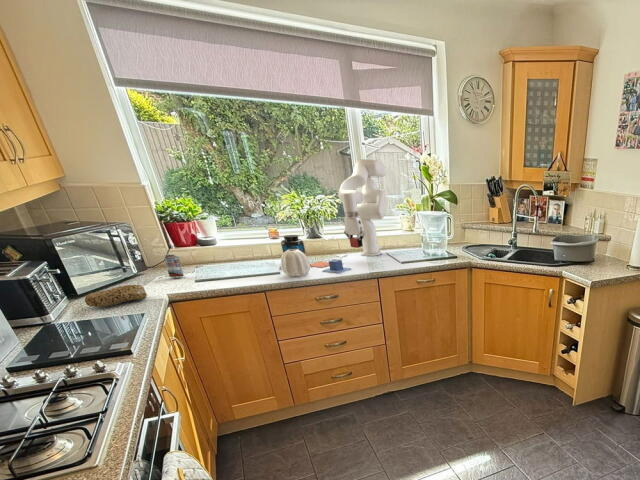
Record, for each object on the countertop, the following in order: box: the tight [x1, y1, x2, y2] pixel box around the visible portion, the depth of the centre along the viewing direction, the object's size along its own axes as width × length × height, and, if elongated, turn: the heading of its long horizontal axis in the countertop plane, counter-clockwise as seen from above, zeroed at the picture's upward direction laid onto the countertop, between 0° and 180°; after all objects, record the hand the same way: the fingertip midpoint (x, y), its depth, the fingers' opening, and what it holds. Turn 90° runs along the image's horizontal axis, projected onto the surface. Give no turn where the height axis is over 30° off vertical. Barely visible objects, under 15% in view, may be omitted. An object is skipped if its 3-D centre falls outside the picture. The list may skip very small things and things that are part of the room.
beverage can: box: [163, 253, 185, 279], centre depth 213 cm, size 6×7×12 cm
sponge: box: [84, 284, 148, 308], centre depth 177 cm, size 13×8×20 cm
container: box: [280, 234, 307, 256], centre depth 243 cm, size 12×12×16 cm
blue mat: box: [322, 266, 352, 274], centre depth 236 cm, size 11×11×1 cm
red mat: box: [309, 261, 330, 269], centre depth 247 cm, size 11×11×1 cm
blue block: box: [328, 258, 344, 271], centre depth 235 cm, size 5×5×5 cm
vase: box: [280, 249, 311, 277], centre depth 222 cm, size 14×14×13 cm
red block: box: [349, 236, 360, 249], centre depth 251 cm, size 5×5×5 cm
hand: (356, 245), depth 252 cm, fingers closed on red block, 5 cm apart
